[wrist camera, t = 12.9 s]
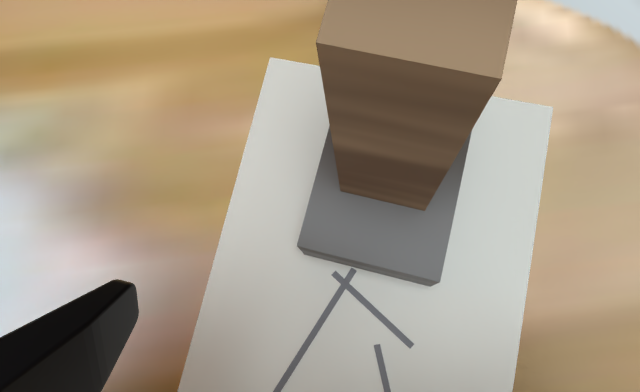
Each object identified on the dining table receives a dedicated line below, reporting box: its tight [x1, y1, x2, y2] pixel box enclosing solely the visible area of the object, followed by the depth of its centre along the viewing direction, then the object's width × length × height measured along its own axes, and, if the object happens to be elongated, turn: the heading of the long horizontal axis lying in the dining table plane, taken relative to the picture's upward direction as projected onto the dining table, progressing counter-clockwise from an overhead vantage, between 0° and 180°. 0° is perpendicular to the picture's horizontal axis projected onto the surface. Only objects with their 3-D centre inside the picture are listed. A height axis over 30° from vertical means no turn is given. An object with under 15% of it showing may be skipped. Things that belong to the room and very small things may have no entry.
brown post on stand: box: [297, 0, 517, 287], centre depth 15 cm, size 8×5×12 cm, turn 165°
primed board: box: [178, 57, 553, 392], centre depth 20 cm, size 22×12×2 cm, turn 167°
